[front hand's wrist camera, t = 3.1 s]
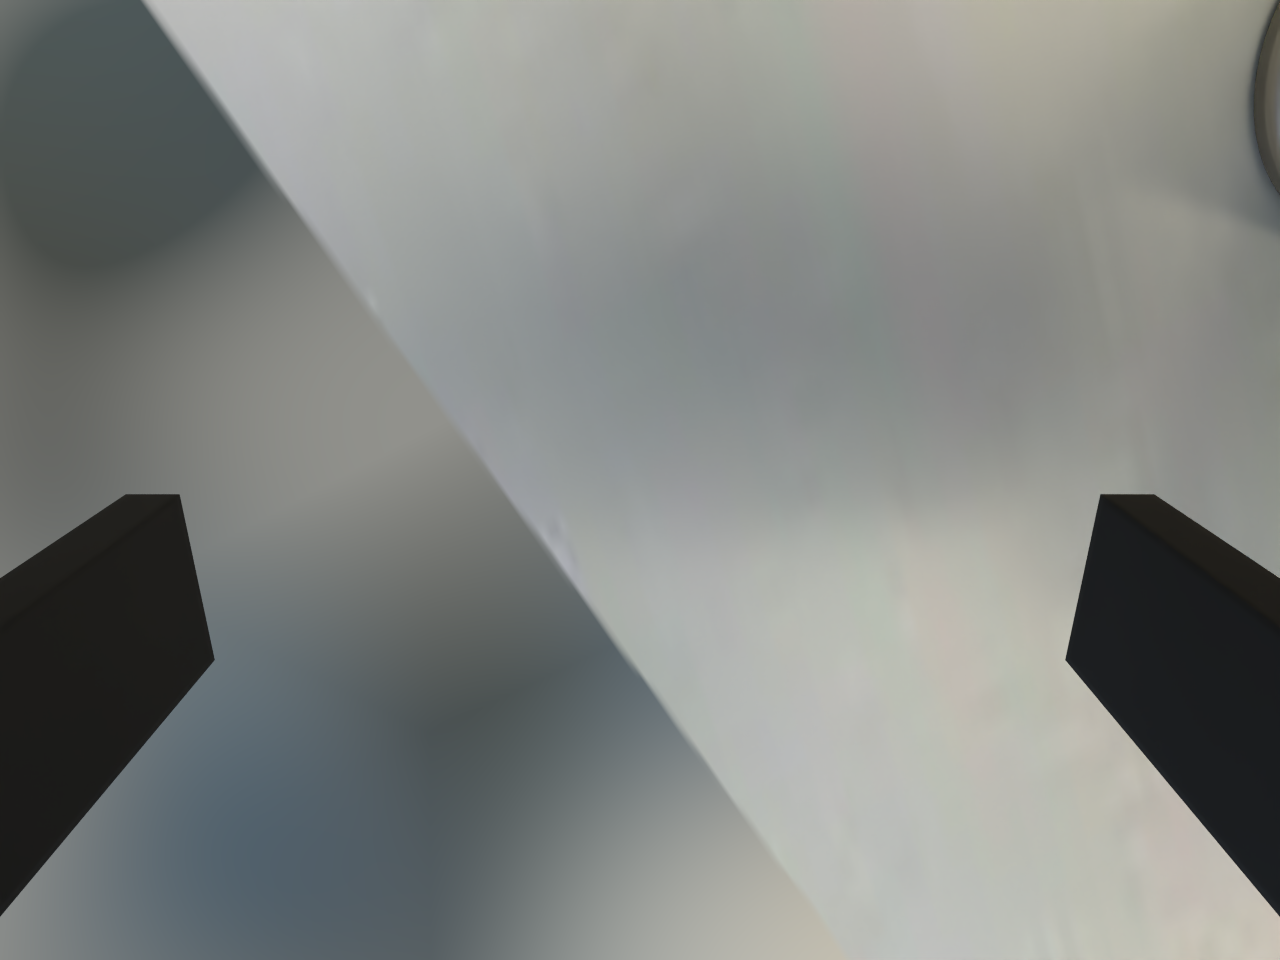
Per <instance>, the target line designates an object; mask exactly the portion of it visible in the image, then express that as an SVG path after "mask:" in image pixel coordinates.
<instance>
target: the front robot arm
mask: <svg viewBox="0 0 1280 960" xmlns="http://www.w3.org/2000/svg"><path fill="white" fill-rule="evenodd" d="M1254 121H1255V131H1256V137H1257V142H1258V147H1259V151H1260V154H1261V157H1262V160H1263V164H1264V167H1265V169H1266V171H1267V173H1268V175H1269V177H1270V180H1271V182H1272V183H1273V185H1274V186H1275V188H1276V190H1277V191H1278V193H1279V194H1280V2H1279V4H1278V7H1277V9H1276V11H1275V13H1274V16H1273V18H1272V20H1271V23H1270V26H1269V29H1268V31H1267V34H1266V37H1265V40H1264V44H1263V48H1262V51H1261V55H1260V59H1259V64H1258V69H1257V75H1256V82H1255V93H1254ZM214 660H215V659H214V655H213V650H212V645H211V640H210V636H209V631H208V626H207V622H206V617H205V612H204V608H203V603H202V598H201V593H200V589H199V584H198V579H197V575H196V570H195V565H194V560H193V556H192V551H191V546H190V542H189V537H188V532H187V527H186V523H185V518H184V513H183V509H182V504H181V499H180V495H179V494H126V495H124V496H123V497H121V498H120V499H118V500H117V501H115V502H114V503H112V504H111V505H109V506H108V507H106V508H105V509H103V510H102V511H100V512H99V513H97V514H96V515H94V516H93V517H91V518H90V519H88V520H87V521H85V522H84V523H82V524H81V525H79V526H78V527H76V528H75V529H73V530H72V531H70V532H69V533H67V534H66V535H64V536H63V537H61V538H60V539H58V540H57V541H55V542H54V543H52V544H51V545H49V546H48V547H46V548H45V549H43V550H42V551H40V552H39V553H37V554H36V555H34V556H33V557H31V558H30V559H28V560H27V561H25V562H24V563H22V564H21V565H19V566H18V567H16V568H15V569H13V570H12V571H10V572H9V573H7V574H6V575H5V576H3V577H1V578H0V916H1V915H2V914H3V913H4V911H5V910H6V909H7V908H8V907H9V905H10V904H11V903H12V902H13V901H14V899H15V898H16V897H17V896H18V895H19V893H20V892H21V891H22V890H23V889H24V887H25V886H26V885H27V884H28V883H29V881H30V880H31V879H32V878H33V877H34V875H35V874H36V873H37V872H38V871H39V870H40V868H41V867H42V866H43V865H44V863H45V862H46V861H47V860H48V859H49V857H50V856H51V855H52V854H53V853H54V852H55V850H56V849H57V848H58V847H59V846H60V844H61V843H62V842H63V841H64V840H65V838H66V837H67V836H68V835H69V834H70V832H71V831H72V830H73V829H74V828H75V826H76V825H77V824H78V823H79V822H80V820H81V819H82V818H83V817H84V816H85V814H86V813H87V812H88V811H89V810H90V808H91V807H92V806H93V805H94V804H95V802H96V801H97V800H98V799H99V798H100V797H101V795H102V794H103V793H104V792H105V791H106V789H107V788H108V787H109V786H110V785H111V783H112V782H113V781H114V780H115V779H116V777H117V776H118V775H119V774H120V773H121V771H122V770H123V769H124V768H125V767H126V765H127V764H128V763H129V762H130V761H131V759H132V758H133V757H134V756H135V755H136V753H137V752H138V751H139V750H140V749H141V747H142V746H143V745H144V744H145V743H146V741H147V740H148V739H149V738H150V737H151V735H152V734H153V733H154V732H155V731H156V729H157V728H158V727H159V726H160V725H161V723H162V722H163V721H164V720H165V719H166V718H167V716H168V715H169V714H170V713H171V712H172V710H173V709H174V708H175V707H176V706H177V704H178V703H179V702H180V701H181V700H182V698H183V697H184V696H185V695H186V694H187V692H188V691H189V690H190V689H191V688H192V686H193V685H194V684H195V683H196V682H197V680H198V679H199V678H200V677H201V676H202V674H203V673H204V672H205V671H206V670H207V668H208V667H209V666H210V665H211V664H212V662H213V661H214ZM1065 660H1066V661H1067V662H1068V664H1069V665H1070V666H1071V667H1072V668H1073V670H1074V671H1075V672H1076V673H1077V674H1078V676H1079V677H1080V678H1081V679H1082V680H1083V682H1084V683H1085V684H1086V685H1087V686H1088V688H1089V689H1090V690H1091V691H1092V692H1093V694H1094V695H1095V696H1096V697H1097V698H1098V700H1099V701H1100V702H1101V703H1102V704H1103V706H1104V707H1105V708H1106V709H1107V710H1108V712H1109V713H1110V714H1111V715H1112V716H1113V718H1114V719H1115V720H1116V721H1117V722H1118V724H1119V725H1120V726H1121V727H1122V728H1123V729H1124V731H1125V732H1126V733H1127V734H1128V735H1129V737H1130V738H1131V739H1132V740H1133V741H1134V743H1135V744H1136V745H1137V746H1138V747H1139V749H1140V750H1141V751H1142V752H1143V753H1144V755H1145V756H1146V757H1147V758H1148V759H1149V761H1150V762H1151V763H1152V764H1153V765H1154V767H1155V768H1156V769H1157V770H1158V771H1159V773H1160V774H1161V775H1162V776H1163V777H1164V779H1165V780H1166V781H1167V782H1168V783H1169V785H1170V786H1171V787H1172V788H1173V789H1174V791H1175V792H1176V793H1177V794H1178V795H1179V797H1180V798H1181V799H1182V800H1183V801H1184V803H1185V804H1186V805H1187V806H1188V807H1189V808H1190V810H1191V811H1192V812H1193V813H1194V814H1195V816H1196V817H1197V818H1198V819H1199V820H1200V822H1201V823H1202V824H1203V825H1204V826H1205V828H1206V829H1207V830H1208V831H1209V832H1210V834H1211V835H1212V836H1213V837H1214V838H1215V840H1216V841H1217V842H1218V843H1219V844H1220V846H1221V847H1222V848H1223V849H1224V850H1225V852H1226V853H1227V854H1228V855H1229V856H1230V858H1231V859H1232V860H1233V861H1234V862H1235V864H1236V865H1237V866H1238V867H1239V868H1240V870H1241V871H1242V872H1243V873H1244V874H1245V876H1246V877H1247V878H1248V879H1249V880H1250V881H1251V883H1252V884H1253V885H1254V886H1255V887H1256V889H1257V890H1258V891H1259V892H1260V893H1261V895H1262V896H1263V897H1264V898H1265V899H1266V901H1267V902H1268V903H1269V904H1270V905H1271V907H1272V908H1273V909H1274V910H1275V911H1276V913H1277V914H1278V915H1279V916H1280V578H1279V577H1277V576H1276V575H1274V574H1273V573H1271V572H1270V571H1268V570H1267V569H1265V568H1264V567H1262V566H1261V565H1259V564H1258V563H1256V562H1255V561H1253V560H1252V559H1250V558H1249V557H1247V556H1246V555H1244V554H1243V553H1241V552H1240V551H1238V550H1237V549H1235V548H1234V547H1232V546H1231V545H1229V544H1228V543H1226V542H1225V541H1223V540H1222V539H1220V538H1219V537H1217V536H1216V535H1214V534H1213V533H1211V532H1210V531H1208V530H1207V529H1205V528H1204V527H1202V526H1201V525H1199V524H1198V523H1196V522H1195V521H1193V520H1192V519H1190V518H1189V517H1187V516H1186V515H1184V514H1183V513H1181V512H1180V511H1178V510H1177V509H1175V508H1174V507H1172V506H1171V505H1169V504H1168V503H1166V502H1165V501H1163V500H1162V499H1160V498H1159V497H1157V496H1156V495H1154V494H1100V499H1099V504H1098V509H1097V513H1096V518H1095V523H1094V527H1093V532H1092V537H1091V542H1090V546H1089V551H1088V556H1087V560H1086V565H1085V570H1084V575H1083V579H1082V584H1081V589H1080V593H1079V598H1078V603H1077V607H1076V612H1075V617H1074V622H1073V626H1072V631H1071V636H1070V640H1069V645H1068V650H1067V655H1066V659H1065Z"/></svg>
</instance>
